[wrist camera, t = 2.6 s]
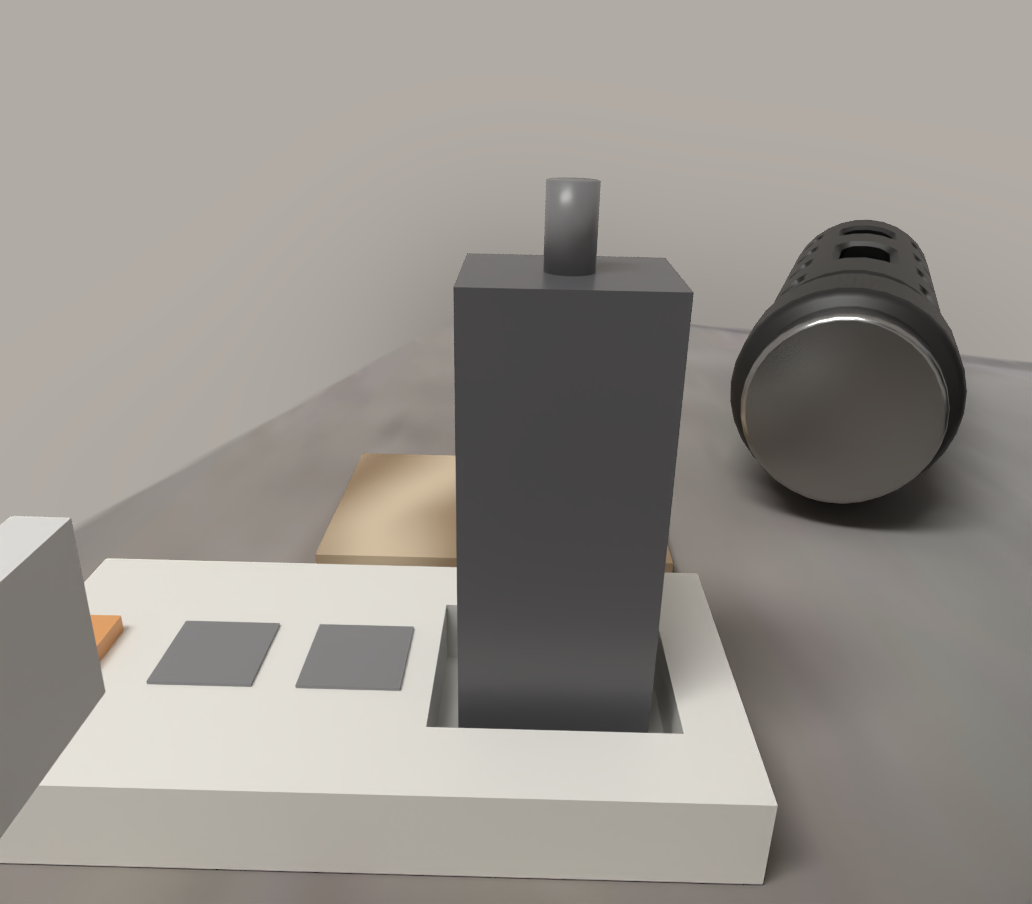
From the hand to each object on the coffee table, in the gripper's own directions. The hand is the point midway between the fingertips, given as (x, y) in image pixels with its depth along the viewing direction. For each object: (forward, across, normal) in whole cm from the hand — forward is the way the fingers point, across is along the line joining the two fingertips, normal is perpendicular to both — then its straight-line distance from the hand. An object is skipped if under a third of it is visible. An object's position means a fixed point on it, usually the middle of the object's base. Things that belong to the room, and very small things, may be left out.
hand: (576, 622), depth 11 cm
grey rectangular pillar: (+10, 0, -10) cm, 14 cm away
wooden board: (+24, -2, -11) cm, 26 cm away
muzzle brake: (+36, +17, -11) cm, 42 cm away
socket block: (+10, -5, -11) cm, 16 cm away
